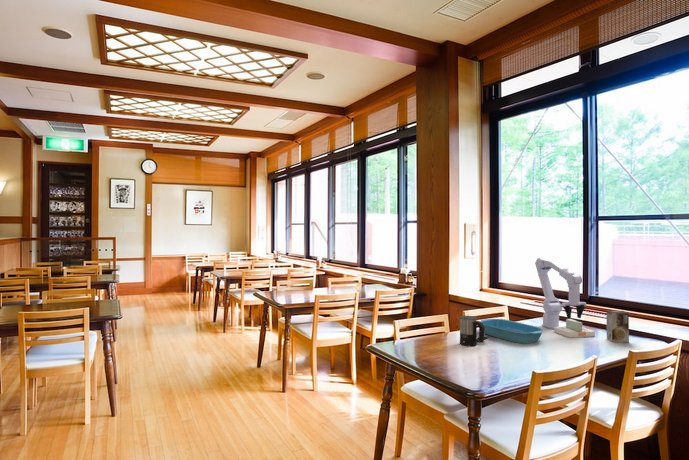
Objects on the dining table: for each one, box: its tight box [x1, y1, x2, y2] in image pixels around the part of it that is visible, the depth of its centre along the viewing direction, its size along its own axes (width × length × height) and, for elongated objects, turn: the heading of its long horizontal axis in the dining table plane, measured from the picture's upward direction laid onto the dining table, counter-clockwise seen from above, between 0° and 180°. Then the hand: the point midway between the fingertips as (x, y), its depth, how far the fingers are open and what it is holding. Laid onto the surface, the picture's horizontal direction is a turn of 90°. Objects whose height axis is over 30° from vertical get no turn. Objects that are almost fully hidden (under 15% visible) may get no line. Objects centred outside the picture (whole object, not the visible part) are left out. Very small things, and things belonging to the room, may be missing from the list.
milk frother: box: [459, 315, 489, 347], centre depth 236 cm, size 14×16×15 cm
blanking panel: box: [565, 318, 583, 332], centre depth 255 cm, size 10×3×7 cm, turn 9°
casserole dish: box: [480, 318, 544, 344], centre depth 249 cm, size 37×22×7 cm, turn 34°
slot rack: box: [553, 326, 596, 339], centre depth 255 cm, size 14×16×3 cm
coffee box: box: [606, 310, 630, 343], centre depth 240 cm, size 9×6×16 cm
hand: (573, 318), depth 255 cm, fingers open, 6 cm apart
